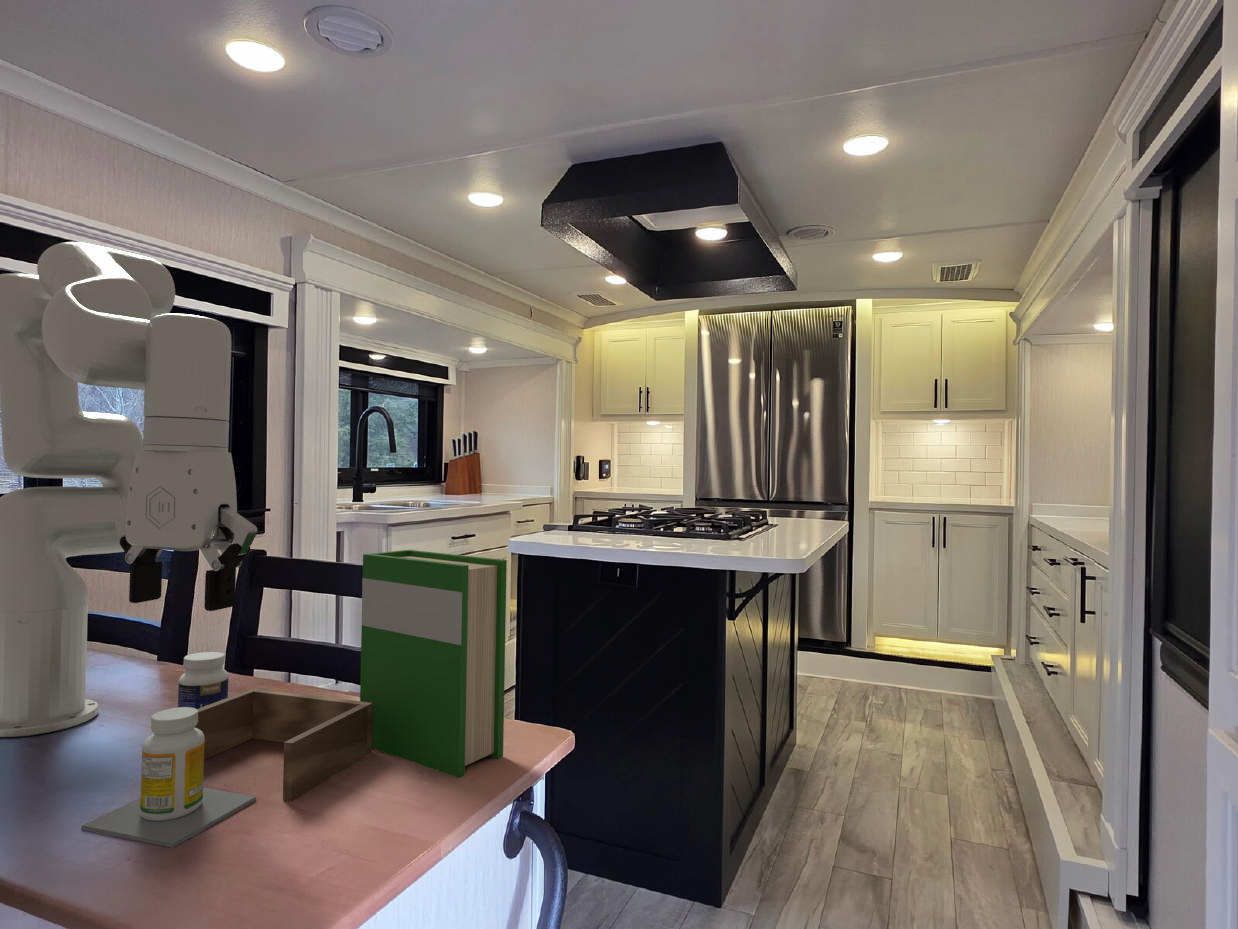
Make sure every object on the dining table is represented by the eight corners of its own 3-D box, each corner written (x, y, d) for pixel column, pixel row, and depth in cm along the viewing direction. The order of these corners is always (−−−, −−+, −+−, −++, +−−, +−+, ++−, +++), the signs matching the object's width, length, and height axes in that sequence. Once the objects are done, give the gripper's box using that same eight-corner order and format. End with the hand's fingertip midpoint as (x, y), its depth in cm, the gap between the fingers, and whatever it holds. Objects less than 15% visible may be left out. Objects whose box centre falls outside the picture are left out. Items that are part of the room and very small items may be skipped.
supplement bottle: (146, 828, 68) (148, 726, 68) (135, 808, 72) (137, 712, 72) (209, 810, 72) (211, 714, 72) (195, 792, 76) (197, 701, 76)
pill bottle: (204, 741, 91) (206, 662, 91) (166, 737, 92) (167, 659, 92) (237, 725, 97) (238, 651, 97) (200, 722, 98) (202, 649, 98)
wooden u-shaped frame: (155, 778, 80) (157, 724, 80) (251, 734, 94) (253, 688, 94) (290, 801, 75) (292, 743, 75) (371, 751, 89) (372, 702, 89)
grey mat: (81, 829, 69) (81, 825, 69) (172, 786, 78) (172, 782, 78) (172, 848, 66) (172, 843, 66) (255, 800, 75) (256, 796, 75)
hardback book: (503, 757, 88) (506, 560, 88) (458, 778, 82) (462, 566, 82) (405, 727, 97) (409, 549, 98) (359, 743, 91) (363, 554, 92)
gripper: (87, 434, 73) (82, 604, 73) (224, 437, 68) (219, 619, 68) (154, 438, 80) (150, 592, 80) (283, 440, 75) (278, 605, 75)
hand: (181, 604), depth 74 cm, fingers open, 9 cm apart
